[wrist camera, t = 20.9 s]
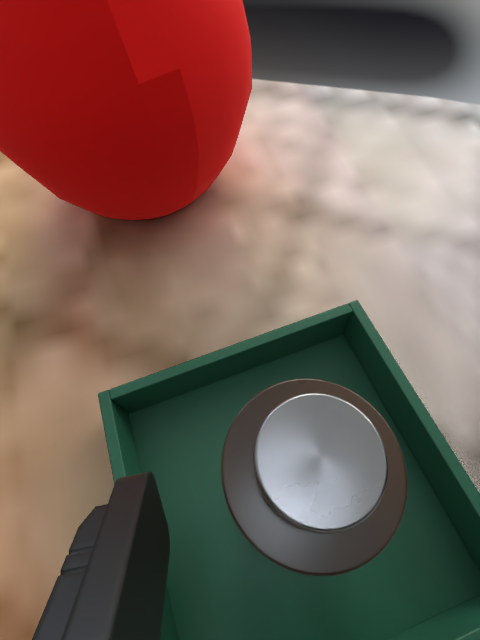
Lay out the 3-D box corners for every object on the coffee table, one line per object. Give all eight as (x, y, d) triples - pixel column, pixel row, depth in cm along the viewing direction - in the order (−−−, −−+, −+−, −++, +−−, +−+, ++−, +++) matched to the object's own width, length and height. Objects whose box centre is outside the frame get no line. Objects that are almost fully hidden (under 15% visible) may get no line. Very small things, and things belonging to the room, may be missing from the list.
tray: (345, 328, 24) (357, 299, 21) (501, 595, 17) (555, 612, 14) (120, 411, 22) (97, 393, 19) (192, 750, 15) (174, 809, 12)
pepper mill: (309, 432, 21) (362, 332, 10) (351, 524, 18) (481, 528, 7) (228, 464, 20) (188, 396, 9) (261, 563, 18) (260, 632, 7)
